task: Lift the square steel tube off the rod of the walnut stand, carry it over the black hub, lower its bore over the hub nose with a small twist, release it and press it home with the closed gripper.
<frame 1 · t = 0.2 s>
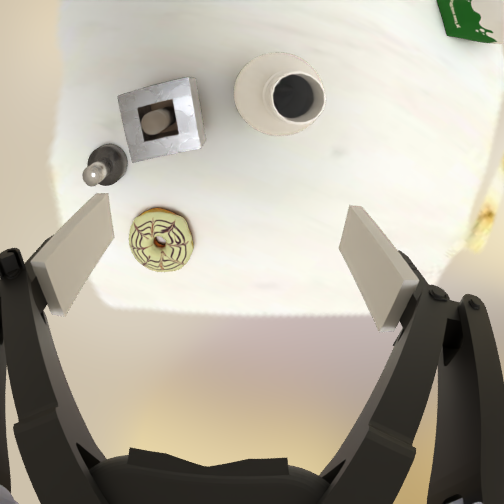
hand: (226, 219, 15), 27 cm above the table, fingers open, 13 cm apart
water bottle: (263, 91, 35), on the table
hub: (109, 162, 39), on the table
square steel tube: (168, 115, 31), point 5 cm above the table, touching stand
milk carton: (455, 19, 25), on the table
stand: (177, 111, 35), on the table
decorated donut: (163, 234, 46), on the table
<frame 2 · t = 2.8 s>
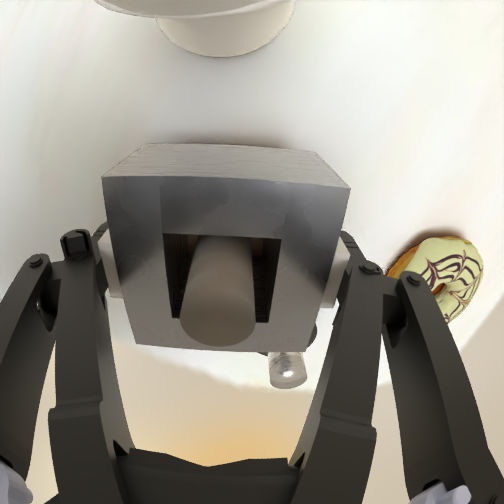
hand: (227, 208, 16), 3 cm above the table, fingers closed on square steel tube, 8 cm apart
water bottle: (226, 11, 13), on the table
hub: (280, 320, 26), on the table
square steel tube: (226, 221, 15), point 5 cm above the table, touching gripper, stand
stand: (229, 188, 19), on the table
decorated donut: (425, 273, 24), on the table
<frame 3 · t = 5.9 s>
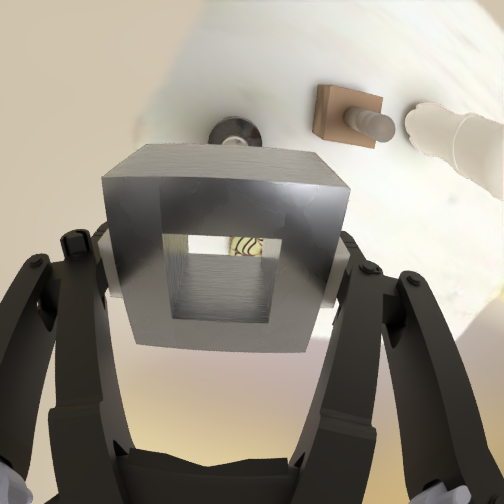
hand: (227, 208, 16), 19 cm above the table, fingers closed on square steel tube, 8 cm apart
water bottle: (420, 124, 31), on the table
hub: (235, 141, 32), on the table
square steel tube: (226, 222, 15), point 21 cm above the table, touching gripper
stand: (339, 112, 31), on the table
decorated donut: (268, 242, 41), on the table
when the fingers open (3 cm above the table, at t = 9.1 s): square steel tube drops 2 cm, resting on hub.
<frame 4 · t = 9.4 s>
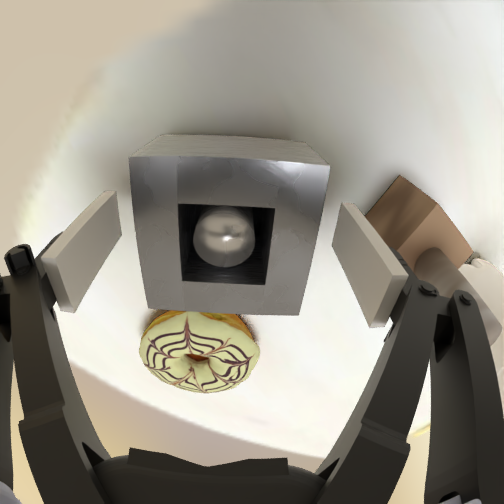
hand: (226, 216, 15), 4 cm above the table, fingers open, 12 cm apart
water bottle: (461, 278, 24), on the table
hub: (229, 190, 19), on the table
square steel tube: (228, 202, 17), point 2 cm above the table, touching hub
stand: (397, 226, 20), on the table
decorated donut: (200, 336, 27), on the table
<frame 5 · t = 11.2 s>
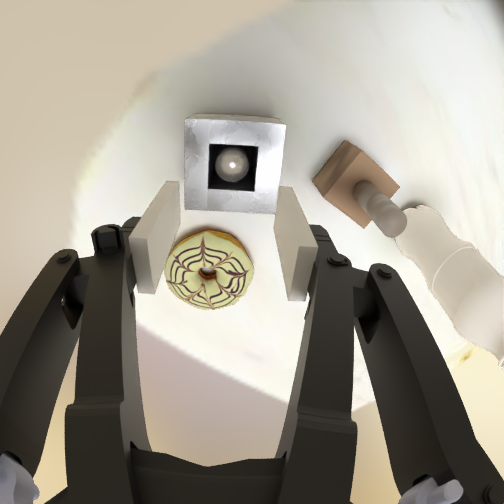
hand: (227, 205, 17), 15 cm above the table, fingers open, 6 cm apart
water bottle: (410, 223, 35), on the table
hub: (233, 149, 29), on the table
square steel tube: (233, 154, 27), point 2 cm above the table, touching hub
stand: (347, 175, 31), on the table
decorated donut: (210, 262, 37), on the table
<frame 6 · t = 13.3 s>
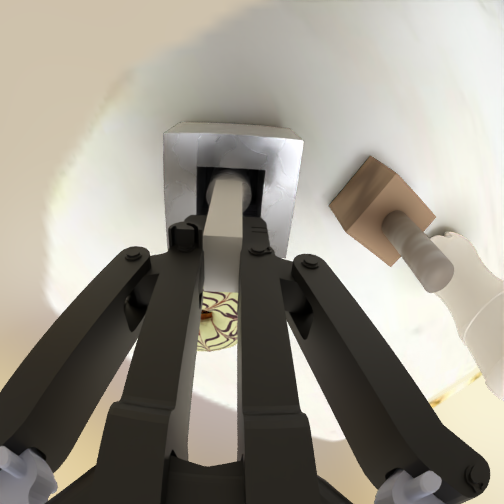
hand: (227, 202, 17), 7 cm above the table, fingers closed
water bottle: (436, 250, 29), on the table
hub: (231, 167, 23), on the table
square steel tube: (231, 174, 22), point 2 cm above the table, touching hub
stand: (371, 199, 25), on the table
decorated donut: (205, 298, 31), on the table
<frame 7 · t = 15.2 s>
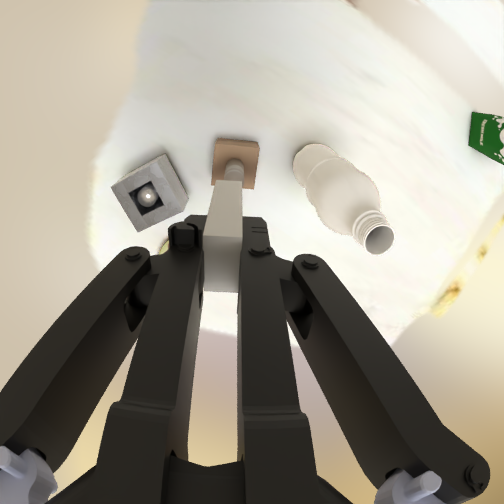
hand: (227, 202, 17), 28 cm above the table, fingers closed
water bottle: (312, 162, 44), on the table
hub: (158, 183, 44), on the table
square steel tube: (155, 187, 42), point 2 cm above the table, touching hub
milk carton: (480, 131, 39), on the table
stand: (235, 158, 43), on the table
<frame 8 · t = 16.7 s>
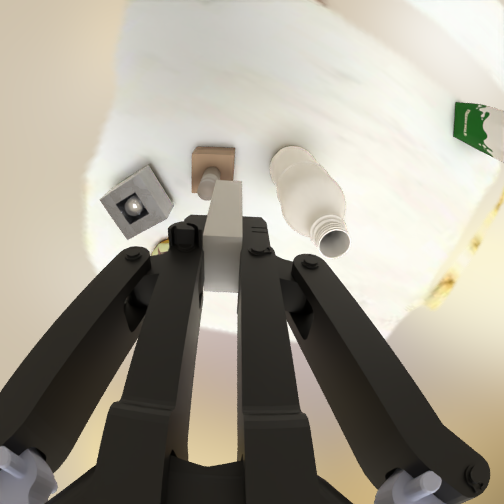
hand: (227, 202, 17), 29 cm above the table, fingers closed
water bottle: (290, 163, 45), on the table
hub: (145, 192, 47), on the table
square steel tube: (141, 196, 45), point 2 cm above the table, touching hub
milk carton: (465, 121, 40), on the table
stand: (215, 165, 45), on the table
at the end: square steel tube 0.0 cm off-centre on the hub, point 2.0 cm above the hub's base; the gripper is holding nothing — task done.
